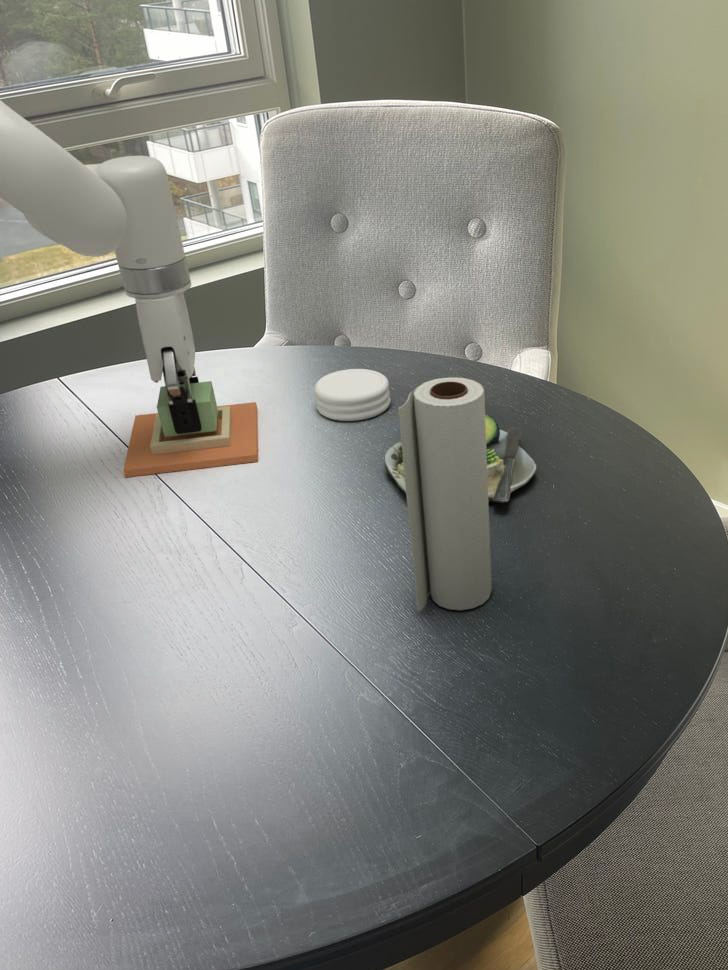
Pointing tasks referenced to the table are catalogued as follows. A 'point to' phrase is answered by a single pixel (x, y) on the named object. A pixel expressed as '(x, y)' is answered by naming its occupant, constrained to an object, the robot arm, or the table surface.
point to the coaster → (352, 394)
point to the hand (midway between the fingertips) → (190, 418)
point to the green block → (205, 407)
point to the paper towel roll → (447, 492)
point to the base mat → (193, 443)
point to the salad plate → (503, 462)
